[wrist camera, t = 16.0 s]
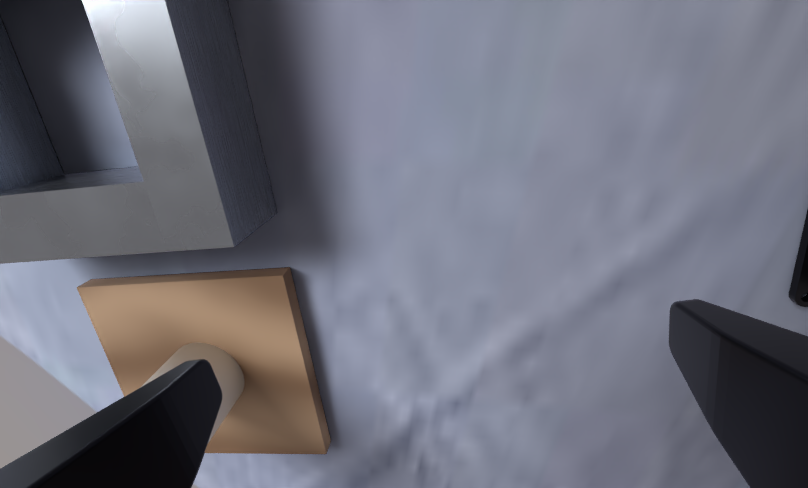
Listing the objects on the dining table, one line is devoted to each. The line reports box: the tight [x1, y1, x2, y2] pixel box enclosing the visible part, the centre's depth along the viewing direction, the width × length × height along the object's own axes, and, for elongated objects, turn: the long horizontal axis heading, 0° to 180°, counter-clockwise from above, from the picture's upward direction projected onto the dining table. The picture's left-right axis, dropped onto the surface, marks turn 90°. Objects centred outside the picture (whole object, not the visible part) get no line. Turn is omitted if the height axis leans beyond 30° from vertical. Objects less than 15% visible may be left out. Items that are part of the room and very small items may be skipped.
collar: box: [0, 0, 277, 264], centre depth 18 cm, size 14×14×4 cm
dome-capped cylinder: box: [141, 343, 244, 443], centre depth 19 cm, size 4×4×13 cm
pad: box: [77, 267, 331, 454], centre depth 26 cm, size 12×12×1 cm
